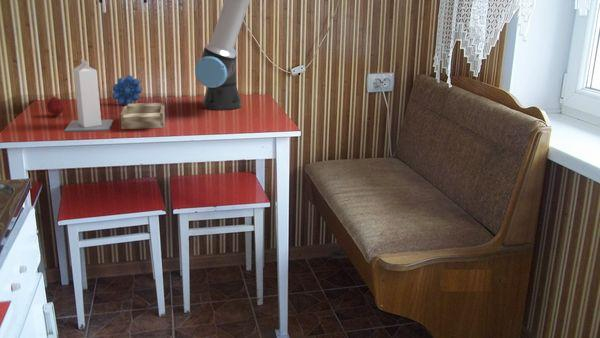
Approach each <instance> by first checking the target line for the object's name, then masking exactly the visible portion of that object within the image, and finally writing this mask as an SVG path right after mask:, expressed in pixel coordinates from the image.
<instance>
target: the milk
mask: <svg viewBox="0 0 600 338" xmlns="http://www.w3.org/2000/svg"><path fill="white" fill-rule="evenodd" d="M80 62H81V63H80V64H79V65H77V66H76V67H74V68H73V79H74V81H73V82H74V89H75V91H74V92H75V99H76V100H75V101H76V109H77V120H78V121H79V124H80V125H81V126H83V127H92V126H100V125H101V120H102V117H101V115H102V113H101V105H100V93H99V92H100V91H99V80H98V71H97V69H95V68H92V67H91V66H89V65H88V61H87V60H84V59H81V61H80Z"/></svg>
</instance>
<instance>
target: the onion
mask: <svg viewBox="0 0 600 338" xmlns="http://www.w3.org/2000/svg"><path fill="white" fill-rule="evenodd" d="M46 109H47V111H48V113H49V114H51V115H52V116H54V117H56V118H57V117H59V115H61V114H62V113H63V112H64V110H65V104H64V102H63V101H62V99H61V98H59V97H57V96H56V94H53V95H52V97H51V98H50V99H49V100H48V101H47V104H46Z"/></svg>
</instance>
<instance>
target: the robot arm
mask: <svg viewBox="0 0 600 338" xmlns="http://www.w3.org/2000/svg"><path fill="white" fill-rule="evenodd" d="M140 1H141V2H140V3H141V12H142V13H143V14H144V13H145V4H147V2H148V0H140ZM98 2H99V3H100V4H102V13H104V14H105V13H106V14H107V7H106V6H107V5H106V0H98ZM250 2H251V0H223V2H222V3H223V4H222V7H221V10H220V12H219V16H218V19H217V22H216V25H215V28H214V30H213V34H212V36H211V40H210V42H209V43H207V44H205V45H204V48H203V51H202V54H201V56H200V59H199V60H198V61H197V63H196V64H195V69H194V71H195V73H194V74H195V76H196V78H197V80H198V82H199V83H200V84H201V85H202V86H204V87H206V91H205V94H204V97H203V102H202V103H203V108H205V109H209V110H215V111H216V110H217V111H218V110H219V111H220V110H221V111H222V110H223V111H226V110H236V109H238V108H241V107H242V99H241V96H240V92H239V90H238V84H237V82H238V81H237V80H238V79H237V57H238V56H237V52H236V49H235V46H236V43H237V39H238V36H239V34H240V31H241V28H242V26H243V23H244V19H245V16H246V14H247V11H248V8H249V5H250Z"/></svg>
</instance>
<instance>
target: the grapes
mask: <svg viewBox="0 0 600 338" xmlns="http://www.w3.org/2000/svg"><path fill="white" fill-rule="evenodd" d="M140 83H141V82H140V79H138V78H134V77H133V76H132V75H127V76H126V77H125V78H124V77H119V78H118V79H117V83H115V84H113V86H112V91H113V93H112V99H113V100H117V103H118V105H119V106H122V105H124V104H125V106H127V105H128V104H133V101H134V102H136V101H138V100H140V94H141V93H142V91H143V88H142V86H141V85H140ZM117 103H116V104H117Z"/></svg>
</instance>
